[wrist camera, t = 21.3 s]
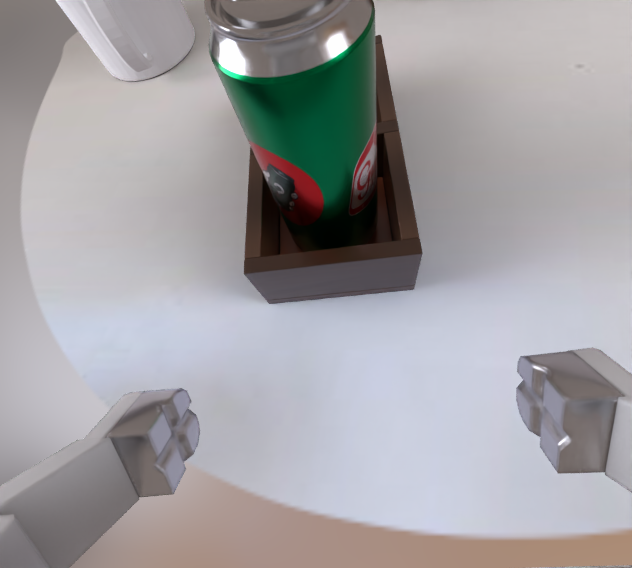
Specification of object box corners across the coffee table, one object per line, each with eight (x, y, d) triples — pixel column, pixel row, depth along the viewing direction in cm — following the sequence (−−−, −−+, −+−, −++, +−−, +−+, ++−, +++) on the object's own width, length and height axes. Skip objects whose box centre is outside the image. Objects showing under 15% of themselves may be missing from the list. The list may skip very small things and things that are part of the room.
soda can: (378, 262, 19) (376, 23, 8) (288, 265, 19) (173, 54, 9) (377, 187, 21) (372, -87, 10) (295, 193, 21) (207, -52, 11)
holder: (414, 289, 19) (422, 253, 15) (269, 304, 20) (243, 274, 16) (380, 93, 25) (381, 34, 21) (272, 113, 26) (254, 59, 22)
